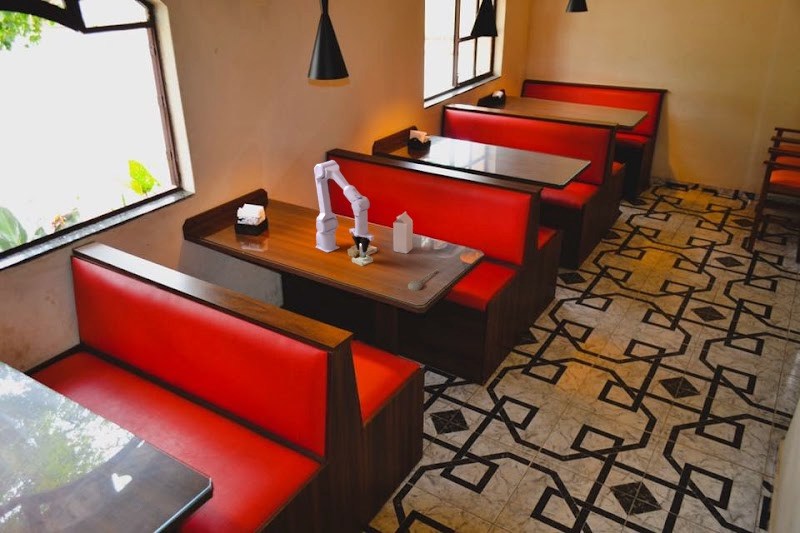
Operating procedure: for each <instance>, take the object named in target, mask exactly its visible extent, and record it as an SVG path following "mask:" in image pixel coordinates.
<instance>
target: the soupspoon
mask: <svg viewBox="0 0 800 533" xmlns="http://www.w3.org/2000/svg"><path fill="white" fill-rule="evenodd" d="M435 273H439V269H437V268H436V269H435V270H434V271H432V272H430V273H428V274H427V275H425V276H423V277H422V278H421V279H419V280H418V279H416V280H412V281H410V282H409V283H408V285H407V289H409V290H411V291H417V292H418V291H420V290H421V289H422V288H423V286H424V280H425V279H426V278H429V277H430V276H431V275H433V274H435Z"/></svg>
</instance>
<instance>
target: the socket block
mask: <svg viewBox="0 0 800 533" xmlns="http://www.w3.org/2000/svg"><path fill="white" fill-rule="evenodd" d="M350 248H352V249H354V250H355V249H357V247H356V244H355V245H352V246H350ZM376 252H378V247H376V246H374V245H371V244H369V245H368V249H367V252H366V255H368V256H370V255H371V254H375V253H376Z"/></svg>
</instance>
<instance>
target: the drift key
mask: <svg viewBox="0 0 800 533" xmlns="http://www.w3.org/2000/svg"><path fill="white" fill-rule="evenodd" d="M358 255H360V254H359V250H357V249H355V250H354V249H352V248H351V247H350V248H347V256H349V257H351V258H355V257H357V256H358Z"/></svg>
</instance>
